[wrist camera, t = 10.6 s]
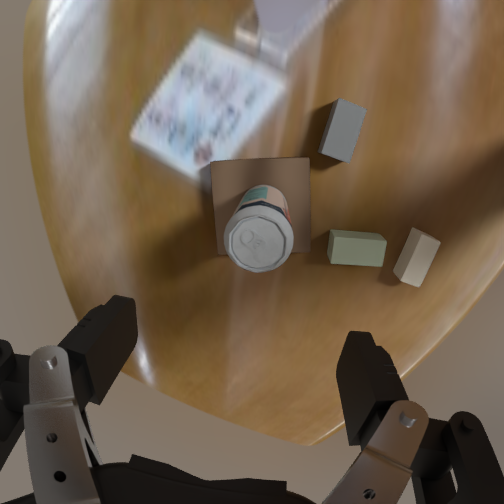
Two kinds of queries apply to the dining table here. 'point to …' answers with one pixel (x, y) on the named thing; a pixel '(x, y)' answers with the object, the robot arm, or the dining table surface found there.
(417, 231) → the cream brick
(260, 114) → the dining table surface
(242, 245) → the beer can
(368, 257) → the sage brick
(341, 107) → the slate brick
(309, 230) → the walnut slab
